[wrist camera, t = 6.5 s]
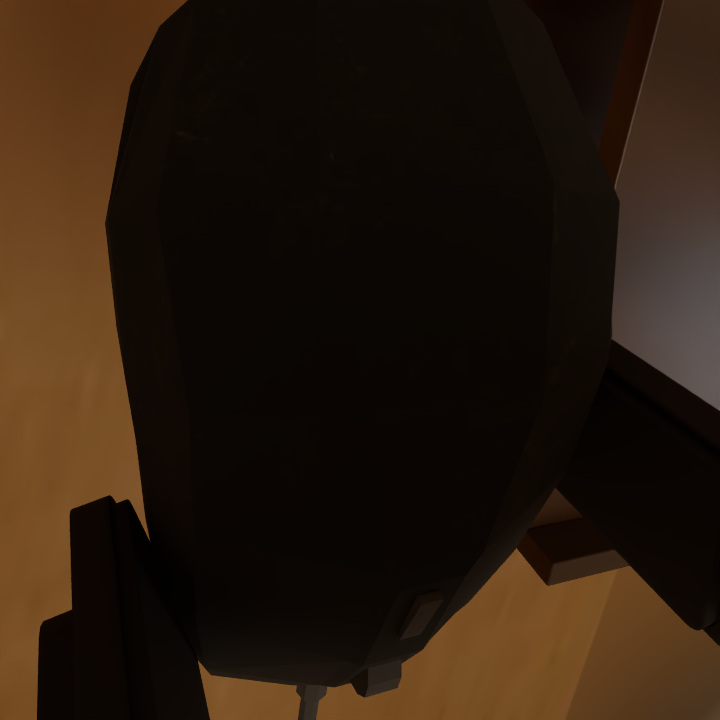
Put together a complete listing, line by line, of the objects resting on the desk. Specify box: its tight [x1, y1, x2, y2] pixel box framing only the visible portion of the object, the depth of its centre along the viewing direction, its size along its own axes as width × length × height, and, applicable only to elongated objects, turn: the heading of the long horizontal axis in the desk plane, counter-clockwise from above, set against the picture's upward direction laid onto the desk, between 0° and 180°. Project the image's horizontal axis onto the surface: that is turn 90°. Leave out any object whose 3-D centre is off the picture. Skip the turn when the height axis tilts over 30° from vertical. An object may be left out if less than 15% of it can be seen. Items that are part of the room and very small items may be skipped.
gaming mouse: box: [105, 0, 620, 720], centre depth 10 cm, size 6×15×4 cm, turn 174°
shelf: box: [516, 0, 720, 586], centre depth 28 cm, size 24×12×11 cm, turn 173°
